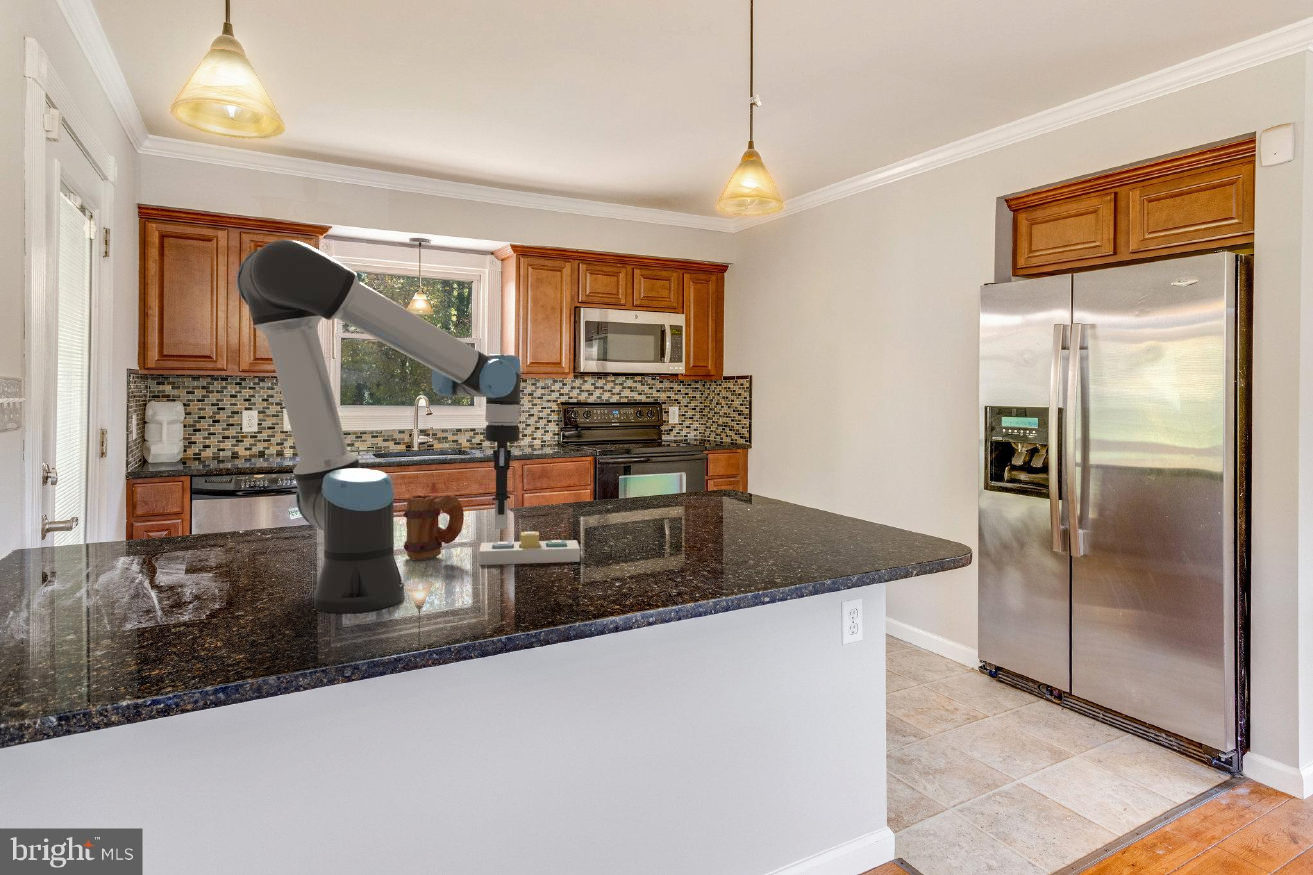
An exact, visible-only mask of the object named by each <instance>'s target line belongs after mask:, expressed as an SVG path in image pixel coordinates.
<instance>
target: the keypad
mask: <svg viewBox="0 0 1313 875" xmlns="http://www.w3.org/2000/svg"><path fill="white" fill-rule="evenodd" d="M511 542H512V548H509V549H494V542H481V543H480V548H479V562H478V564H479V566H486V565H487V566H490V565H515V564H516V565H517V564H519V565H520V564H540V563H541V564H547V563H552V564H553V563H575V562H577V563H579V562H580V561H581V548H580V546H579V543H578V540H575V539H573V540H565V542H566V547H547V540H539V548H521V541H511Z"/></svg>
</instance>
